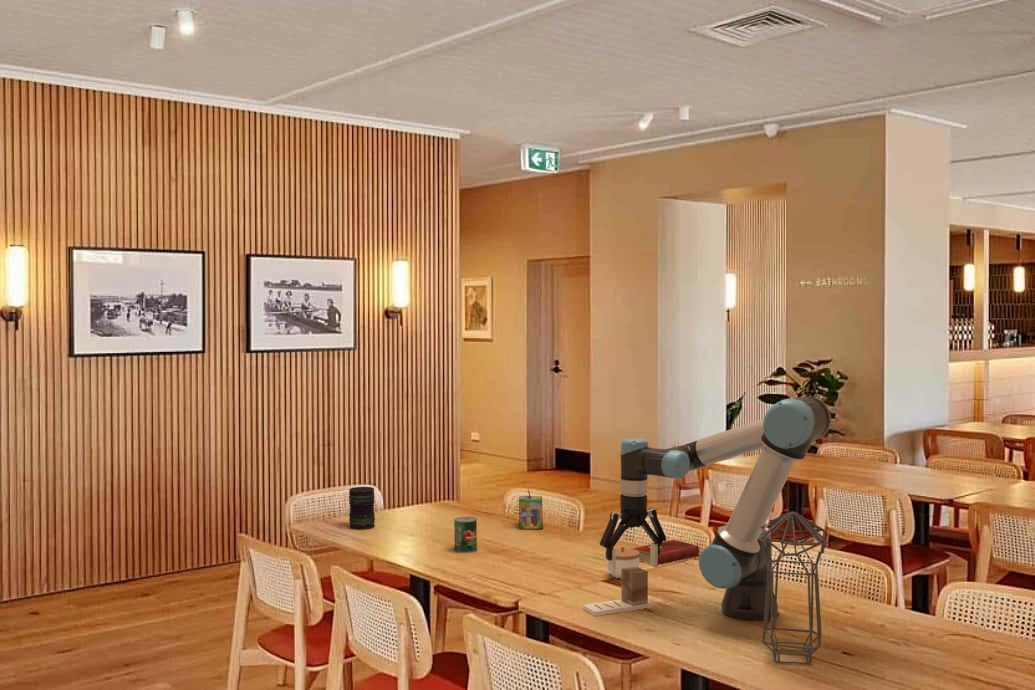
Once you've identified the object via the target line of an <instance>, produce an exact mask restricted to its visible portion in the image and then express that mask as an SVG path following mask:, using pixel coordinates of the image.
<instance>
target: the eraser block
mask: <svg viewBox="0 0 1035 690" xmlns="http://www.w3.org/2000/svg"><path fill="white" fill-rule="evenodd" d="M648 573H649V571H648V570H645V569H644V568H641V567H640V566H639V567H629V568H621V579H620V581H621V583H620V584H621V600H622V601H624V602H626V603H628V604H630V605H632V606H634V605H641V604H648V602H649V591H648V589H649V584H648V583H649V574H648Z"/></svg>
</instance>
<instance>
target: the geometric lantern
mask: <svg viewBox="0 0 1035 690" xmlns="http://www.w3.org/2000/svg"><path fill="white" fill-rule="evenodd" d="M786 521H787V522H786ZM785 522H786V526H785V528H781V526H782V525H783V524H784V523H785ZM795 522H796V525H797V526H798V530H797V529H796V527H795ZM801 525H802V526H801ZM802 527H804V528H805V529H803V528H802ZM760 528H762V531H763V533H762V534H761V535H762V536H760V538H759V540H760V542H761V547H762V549H763V553H764V558H765V562H766V567H767V571H768V572H767V585H766V598H765V611H764V620H763V626H762V627H763V628H762V637H761V638H762V639H761V640H762V641H761V642H762V643H763V645H765V646H766V647H767V649H769V650H771V652H772V659H773V660H772V661H773V662H774V663H777V664H779V663H780V664H793V665H794V664H796V665H797V664H799V665H809V664H810V663H812V654H814V653H815V652H816V651H817V650H819V648H821V646H822V620H821V619H822V618H821V617H822V616H821V602H820V588H819V587H820V586H819V583H820V582H819V569H818V566H819V563H820V560H821V556H822V554H824V553H825V550H826V549H825V548H826V547H827V545H829V543H828V541H827V539H826V533H827V530H826V529H825V528H823V527H821V526H819V525H818V524H816V523H814V522H812V521H811V520H809V519H807V518H805V517H804V516H803V515H801V514H800V513H798V512H795V511H788V512H786V513H784V514H781V515H780V516H778V517H777V518H775V519H772V520H771V521H769V522H766V523H765V525H764V526H762V527H760ZM766 529H768V530H766ZM778 531H782V532H783V534H782V533H779V532H778ZM820 532H822V534H821V533H820ZM769 533H770V535H769V536H768V537H767V538H766V537H765V536H766V535H767V534H769ZM787 533H788V534H789V536H788V538H787V537H786V535H787ZM796 533H799V534H801V535H800V540H799V541H797V538H796V537H797V536H796ZM804 533H809V534H810V535H809V536H807V537H805V538H804V539H803V536H804ZM773 534H775V535H778V536H779V537H781V538H782V539H776V538H775V539H773V538H771V539H768V538H769V537H770V536H771V537H772V535H773ZM792 536H793V540H791V537H792ZM811 538H814V539H815V541H816V542H815V541H814V542H807V541H808V540H810V539H811ZM770 541H771V542H773V543H771V542H770ZM766 542H768V543H769V544H770V545H771V546H772V548H774V549H775V550H777V551H778V552H779V554H778V556H777V558H776V559H772V558H773V557H771V556H770V553H769V551H768V548H767V544H766ZM774 542H775V543H780V544H781V548H779V547H778V546H777V545H776V544H774ZM789 545H790V546H793V549H794V553H792V552H791V553H786V552H785V550H786V548H787V546H789ZM797 546H798V547H799V546H801V547H802V548H803V549H802V550H800V551H799V552H797ZM804 546H809V547H807V548H805V547H804ZM818 546H820V551H818V554H817V557H816V560H815V563H814V562H813V560H812V559H811V557H810V556H809V554H808V551H809V550H812V549H814V548H817V547H818ZM765 547H766V549H767V552H768V554H769V556H770V559H771V561H769V563H768V562H767V557H766V553H765ZM804 553H805V554H806V556H807V558H808V559H809V561H803V560H802V558H801V557H800V555H801V554H804ZM791 556H792V557H794V556H795V557H797V559H798V560H799V561H798V560H797V561H796V560H782V558H783V557H791ZM773 563H775V564H774V565H773ZM779 563H793V564H801V566H802V568H803V570H804V571H805V573H799V572H785V571H779V569H780V568H779ZM805 564H806V565H807V564H809V565H811V567H810V569H811V570H810V572H809V571H808V568H807V567H806V565H805ZM769 566H770V569H769ZM775 567H776V568H775ZM774 569H775V570H774ZM779 574H783V575H794V576H795V575H796V576H807V601H808V602H807V603H808V621H809V622H808V627H809V629H799V628H787V627H785V628H784V627H776V620H777V616H776V606H777V604H778V602H777V600H778V599H777V598H778V583H779ZM774 575H775V582H774ZM774 583H775V587H774ZM770 588H771V618H770V627H769V626H768V624H769V619H768V615H769V602H770ZM774 588H775V589H774ZM773 592H774V595H775V601H774V617H773ZM814 595H815V611H816V612H815V613H816V614H815V615H816V628H817V629H816V631H815V630H814ZM769 631H770V633H769ZM776 631H786V632H787V631H788V632H797V633H798V632H800V633H808V635H807V638H806V639H805V642H792V641H791V642H790V641H778V638H777V634H776ZM813 634H814V635H817V636H816V637H815V638H813ZM767 635H768V637H769V638H770V641H766V637H767ZM816 640H817V644H818V645H816V646H814V647H813V643H814V642H815V641H816ZM808 642H809V643H808ZM798 645H802V646H798ZM770 646H771V647H770ZM778 647H780V649H779V648H778ZM781 648H789V649H781ZM791 652H794V653H791ZM795 652H799V653H795ZM800 652H801V653H800ZM803 653H807V654H803ZM781 655H787V656H788V655H790V656H799V657H805V658H806V662H803V661H802V662H801V661H783V660H781Z"/></svg>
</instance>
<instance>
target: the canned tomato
mask: <svg viewBox="0 0 1035 690" xmlns="http://www.w3.org/2000/svg"><path fill="white" fill-rule="evenodd" d="M453 520H454V521H453V522H454V523H453V525H454V526H453V527H454V534H453V535H454V552H456V553H460V554H470V553H471V554H472V553H475V552H477V551H478V533H477V531H478V528H477V527H478V526H477V524H478V523H477V521H478V520H477V518H476V517H474V516H459V517H456V518H454V519H453Z"/></svg>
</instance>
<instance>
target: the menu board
mask: <svg viewBox="0 0 1035 690" xmlns="http://www.w3.org/2000/svg"><path fill="white" fill-rule="evenodd" d="M651 607H652V608H653V603H651V602H649V601H648V604H641V605H634V606H632V605H630V604H628V603H626V602H624V601H622V599H617V600H616V599H615V600H610V601H602V602H595V603H588V604H587V603H586V604H583V605H582V610H583V609H584V610H583V611H585V612H587V613H588V612H589V614H590V615H593V616H594V617H599V616H600V617H601V616H605V615H606V614H607V615H612V614H619V612H620V613H626V612H633V610H634V611H639V609H640V610H645V609H644V608H647V609H652V608H651Z"/></svg>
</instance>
